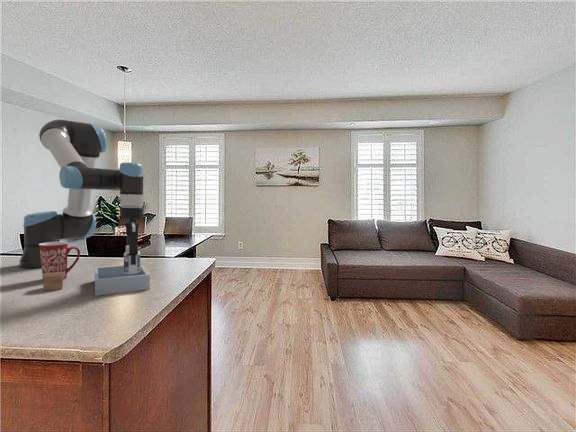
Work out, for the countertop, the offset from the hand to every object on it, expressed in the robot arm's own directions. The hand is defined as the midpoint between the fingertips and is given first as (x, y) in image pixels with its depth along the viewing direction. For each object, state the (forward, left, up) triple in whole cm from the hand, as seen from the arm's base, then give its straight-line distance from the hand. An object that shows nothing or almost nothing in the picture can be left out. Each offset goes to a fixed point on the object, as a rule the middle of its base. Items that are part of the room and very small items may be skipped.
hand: (132, 271), depth 119 cm
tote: (0, -4, -5) cm, 6 cm away
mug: (-19, -23, -5) cm, 30 cm away
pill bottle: (0, 0, -1) cm, 1 cm away
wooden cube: (-5, -24, -5) cm, 24 cm away
